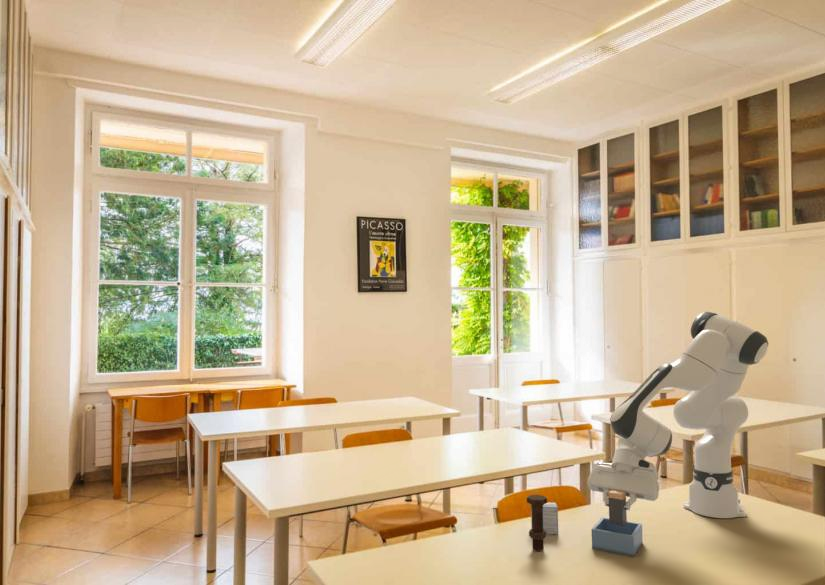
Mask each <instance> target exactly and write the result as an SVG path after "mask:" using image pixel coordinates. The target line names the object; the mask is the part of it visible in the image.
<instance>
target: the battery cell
mask: <svg viewBox="0 0 825 585" xmlns="http://www.w3.org/2000/svg"><path fill="white" fill-rule="evenodd" d="M608 498H609V506H608V516H609V517H608V518H609V524H614V525H619V526H624V525H625V524H627V521H628V519H627V510H625V509H624V508H623V505H624V501H626V502H627V496H626V492H622V491H616V490H611V491H609V492H608Z"/></svg>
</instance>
